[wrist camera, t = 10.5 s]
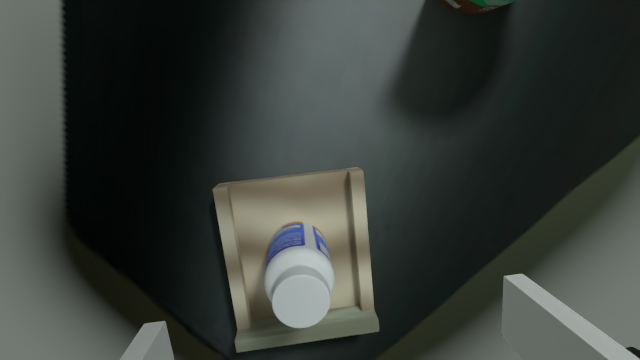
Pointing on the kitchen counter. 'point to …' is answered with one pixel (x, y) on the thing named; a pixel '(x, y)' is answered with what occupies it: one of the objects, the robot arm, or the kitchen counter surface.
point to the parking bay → (254, 239)
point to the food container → (474, 5)
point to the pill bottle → (299, 274)
